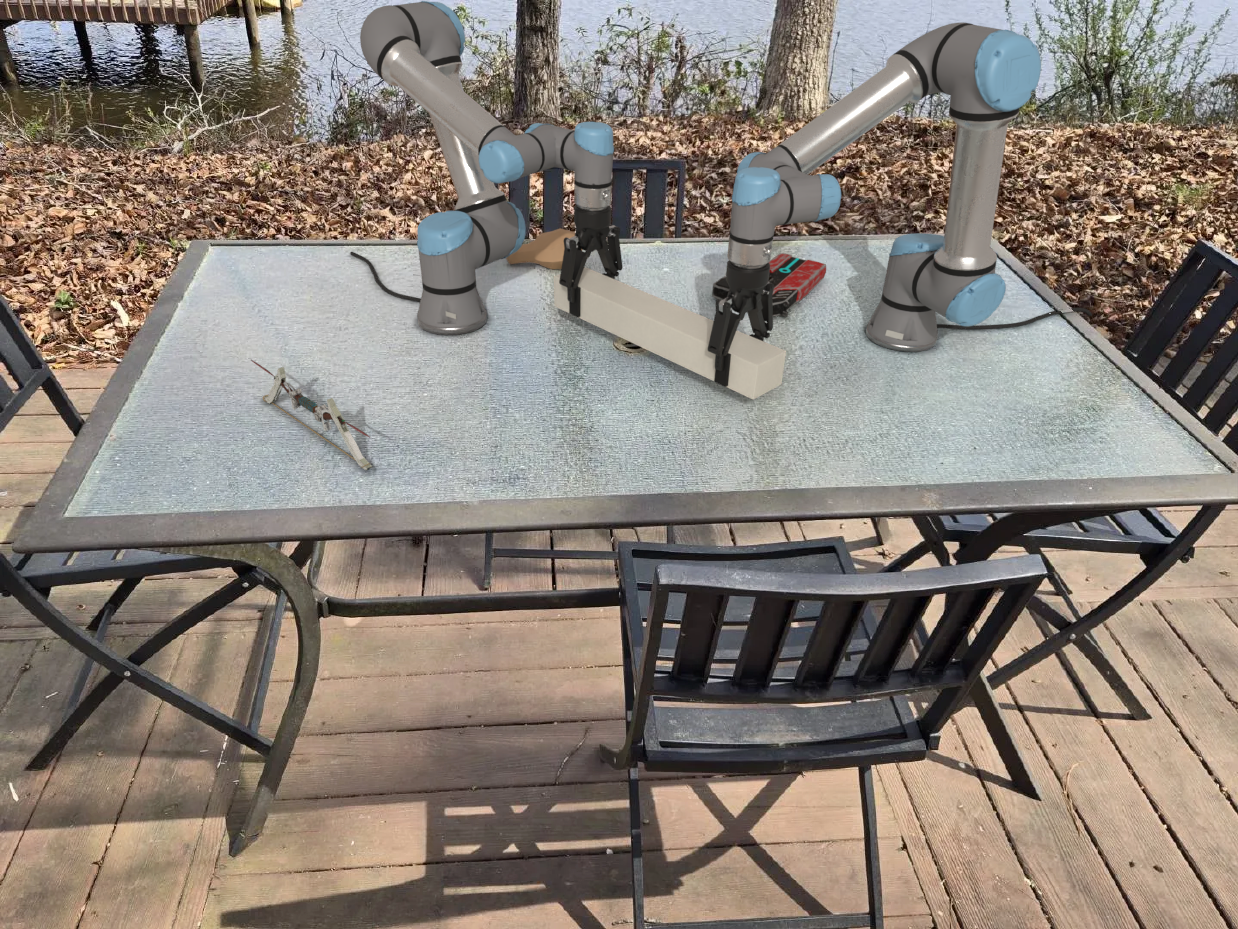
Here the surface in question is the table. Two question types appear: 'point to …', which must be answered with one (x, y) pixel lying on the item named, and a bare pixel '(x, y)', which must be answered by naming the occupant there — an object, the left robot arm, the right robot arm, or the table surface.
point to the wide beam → (673, 332)
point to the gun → (784, 281)
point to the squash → (543, 250)
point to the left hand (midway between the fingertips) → (590, 308)
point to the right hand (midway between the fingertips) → (737, 375)
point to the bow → (316, 413)
